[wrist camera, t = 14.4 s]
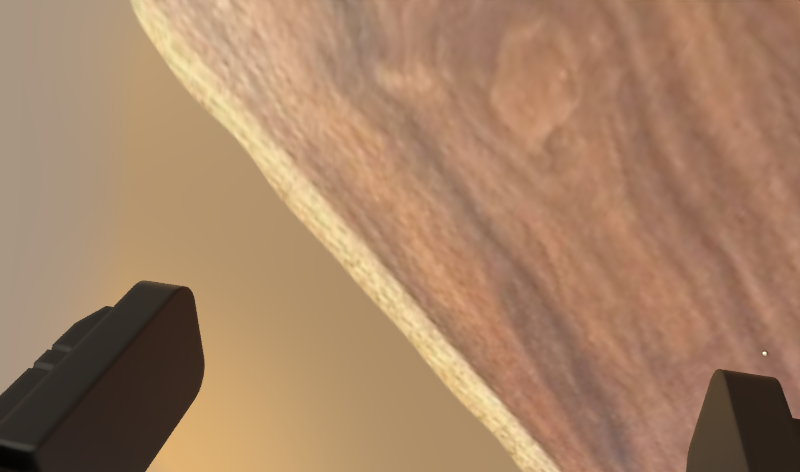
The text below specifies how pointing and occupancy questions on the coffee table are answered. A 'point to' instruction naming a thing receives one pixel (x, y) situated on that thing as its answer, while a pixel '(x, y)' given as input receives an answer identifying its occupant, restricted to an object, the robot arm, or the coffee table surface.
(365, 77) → the coffee table surface
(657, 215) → the coffee table surface
